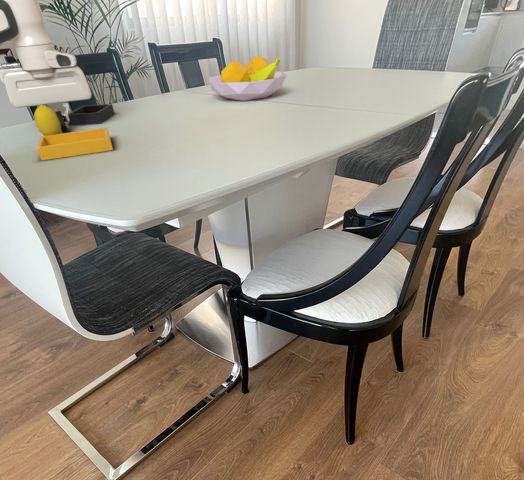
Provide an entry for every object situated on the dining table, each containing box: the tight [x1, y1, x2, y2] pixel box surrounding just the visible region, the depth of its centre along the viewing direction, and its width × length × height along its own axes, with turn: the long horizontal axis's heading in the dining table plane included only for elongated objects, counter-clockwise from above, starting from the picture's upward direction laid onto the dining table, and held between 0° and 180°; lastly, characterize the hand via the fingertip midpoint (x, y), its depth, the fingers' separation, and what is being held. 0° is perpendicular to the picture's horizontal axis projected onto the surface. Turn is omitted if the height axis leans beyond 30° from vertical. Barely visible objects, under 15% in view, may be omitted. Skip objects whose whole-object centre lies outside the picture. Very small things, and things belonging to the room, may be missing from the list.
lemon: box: [33, 105, 62, 136], centre depth 97 cm, size 6×6×8 cm
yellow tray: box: [36, 127, 114, 161], centre depth 91 cm, size 16×12×3 cm
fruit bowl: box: [208, 55, 288, 102], centre depth 128 cm, size 28×27×11 cm
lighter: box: [54, 107, 69, 134], centre depth 106 cm, size 8×2×5 cm
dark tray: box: [67, 103, 116, 126], centre depth 117 cm, size 14×10×3 cm
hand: (61, 122), depth 106 cm, fingers closed on lighter, 2 cm apart
